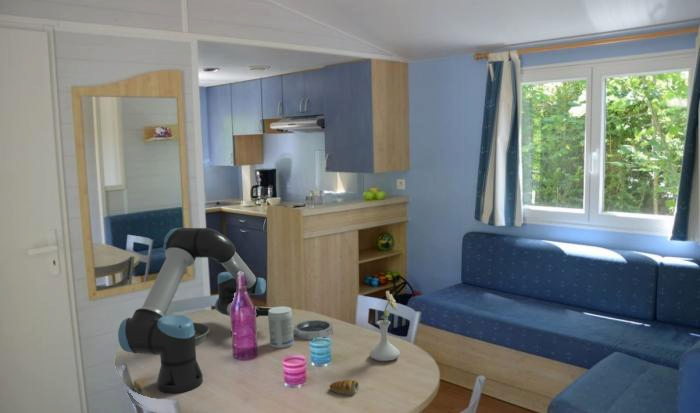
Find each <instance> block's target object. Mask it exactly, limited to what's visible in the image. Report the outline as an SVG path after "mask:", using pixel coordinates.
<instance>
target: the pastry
mask: <svg viewBox="0 0 700 413" xmlns="http://www.w3.org/2000/svg"><path fill="white" fill-rule="evenodd" d="M359 388H360V384H359V381H358V380H357V379H354V380H353V379H344V380H343V379H342V380H338V381H334V382H332V383H330V384H329V389H330V391H331V392H332V393H337V394H339V395H346V396H355V395H356V394H357V393H358V390H359Z"/></svg>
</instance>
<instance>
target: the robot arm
mask: <svg viewBox="0 0 700 413" xmlns="http://www.w3.org/2000/svg"><path fill="white" fill-rule="evenodd" d="M163 243H164V244H163V251H164V256H165V258H166V259H165V260H164V262H163V264H162V266H161V268H160V270H159V272H158V274H157V276H156V278H155V281H154V282H153V285H152V286H151V289H150V291H149V292H148V294H147V297H146V298H145V301H144V303H143V304H142V307H139V308H136V310H135V311H134V313H133V314H132V316H131V317H127V318H124V319H123V320H122V321H121V323H120V325H119V327H118V331H117V338H118V343H119V346H120V347H121V349H122V350H123V351H124V352H126V353H127V352H128V353H133V354H144V355H145V354H146V355H160V368H159V372H158V377H157V380H156V386H157V390H158V391H160V392H162V393H166V394H178V393H180V394H181V393H184V392H188V391H189V392H190V391H191V390H194V389H196V388H198V387H200V386H201V385H202V383H203V382H204V378H203V372H202V369H201V367H200V365H199V363H198V361H197V354H196V353H197V352H196V351H197V350H196V346H195V337H196V336H195V335H196V333H195V330H194V325H193V323H194V321H193V320H192V318H191V317H189V316H187V315H181V314H168V315H167V312H168V310H169V308H170V305H171V304H172V301H173V299H174V297H175V294H176V293H177V290H178V288H179V286H180V284H181V282H182V279H183V277H184V276H185V273H186V271H187V268H188V267H191V266H192V265H193V264H194V262H195V260H196V259H197V258H201V259H202V258H208V259H212V260H214V261H215V262H216V263H218V264H221V266H223V267H224V269H225V270H226V271H223V272H219V273H218V275H217V288H218V298H217V299H216V300H215V303H214V307H215V310H216V311H217V312H219V313H220V314H222V315H225V316H228V317H231V316H230V306H231V303H232V301H233V298H234V293H235V292H236V278H237V273H238V272H239V271H242V272H244V274H245V277H246V282H247V292H248V294H247V295H250V296H251V295H254V296H257V295H259V296H260V295H264V294H265V292H266V288H267V282H266V279H265V278H263V277H257V276H256V275H255V274H254V273H253V272H252V270H251V269H250V268H249V267H248V265H247V263H245V261H244V260H243V259H242V258H241V257H240V255H239V254H238V252H236V246H235V244H234V243H233V242H232V241H231V240H230V239H229V238H228V237H227V236H226V235H224V234H222V233H221V232H220V231H218V230H216V229H213V228H209V227H177V228H176V227H175V228H172V229H170V230H169V231H168V232H167V233H166V235H165V237H164V240H163ZM271 308H272V307H261V306H256V308H255V309H256V312H255V315H256V317H255V318H258V317H268V310H269V309H271Z"/></svg>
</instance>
